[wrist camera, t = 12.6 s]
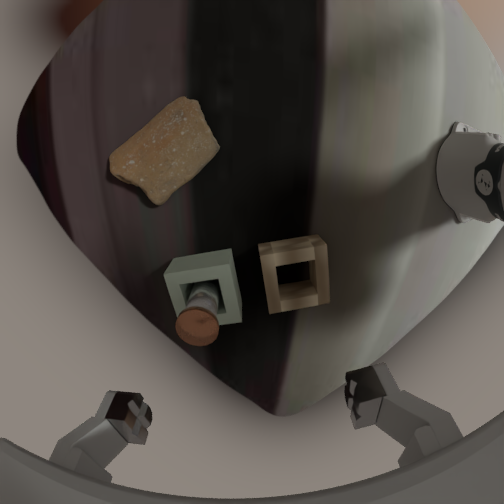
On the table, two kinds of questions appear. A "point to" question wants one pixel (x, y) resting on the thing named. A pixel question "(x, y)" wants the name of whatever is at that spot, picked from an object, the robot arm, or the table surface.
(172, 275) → the socket block
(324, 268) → the mount block
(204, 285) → the pin
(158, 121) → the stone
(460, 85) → the table surface
